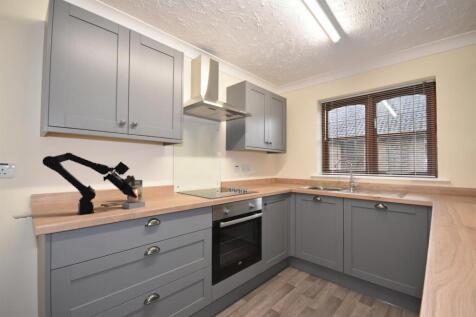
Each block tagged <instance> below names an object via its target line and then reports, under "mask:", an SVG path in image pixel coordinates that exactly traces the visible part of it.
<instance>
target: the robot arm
mask: <svg viewBox="0 0 476 317" xmlns="http://www.w3.org/2000/svg"><path fill="white" fill-rule="evenodd" d="M66 161H70V162H74V163H76V164H79V165H82V166H85V167H87V168H90V169H92V170H93V171H94V172H97V173H98V174H100V175H103V181H104V182H105V181H109V182H110V184H112V185H113V186H114V187H116V188H117V189H118V190H119V191H120V192H121V193H122V194H123V195H125V196H127V195H128V196H131V197H134V198H137V196H136V194H135V193H134V192H133V187H132V186H131V185H129V183H130V182H132V181H135V180H136V178H135V176H134V175H126V178H123V177H121V175H122V176H124V175H125V174H126V173H127V172H128V171H129V170H130V167H129V166H128V165H126V164H124V162H123V161H119V163H118V164H117V165H116V166H114V167H113V166H112V167H110V166H108V165H107V164H101V163H98V162H94V161H91V160H89V159H86V158H83V157H81V156H78V155H76V154H74V153H72V152H66V153H63V154H59V155H55V156H53V155H48V156H47V155H46V156H45V157H43V159H42V165H44V166H45V167H47V168H48V169H49V170H52V171H54V172H56V173H57V174H58V175H60V176H61V177H62V178H63V179H64V180H66V181H67V182H68V183H69V184H71V185H72V186H73V187H74V188H75V189H76V190H77V191H78V192H79V194H80V195H81V197H80V199H79V200H78V206H77V207H78V210H77V212H76V213H77V215H80V216H81V215H83V216H84V215H89V214H94V212H95V210H94V207H95V206H94V202H93V200H94V199H95V197H96V195H97V193H96V190H95V189H94V188H93V187H92V186H91V185H90V184H89V185H86V184H83V183H82V182H81V181H80V180H79V179H78V178H77V177H76V176H74V175H73V174H72V173H71V172H70V171H69V170H67V168H65V166H63V164H62V163H64V162H66ZM110 172H112V173H110Z"/></svg>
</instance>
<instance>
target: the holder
mask: <svg viewBox="0 0 476 317" xmlns="http://www.w3.org/2000/svg"><path fill="white" fill-rule="evenodd" d="M121 202H122V201H121ZM145 207H146V201H143V200H140V201H138V203H131V204H130V203H129V201H125V202H122V205H121V208H123V209H127V210H132V209H139V208H145Z"/></svg>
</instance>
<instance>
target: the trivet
mask: <svg viewBox="0 0 476 317" xmlns="http://www.w3.org/2000/svg"><path fill="white" fill-rule="evenodd" d="M118 206H119V207H120V206H122V201H116V202H108V203H101V204H100V207H107V208H110V207H118Z"/></svg>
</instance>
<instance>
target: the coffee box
mask: <svg viewBox="0 0 476 317" xmlns="http://www.w3.org/2000/svg"><path fill="white" fill-rule="evenodd" d="M129 185H131V186H139V188H138V201H143V179H135V181H132V182H130V183H129ZM126 202H129V196H128V195H126Z"/></svg>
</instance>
